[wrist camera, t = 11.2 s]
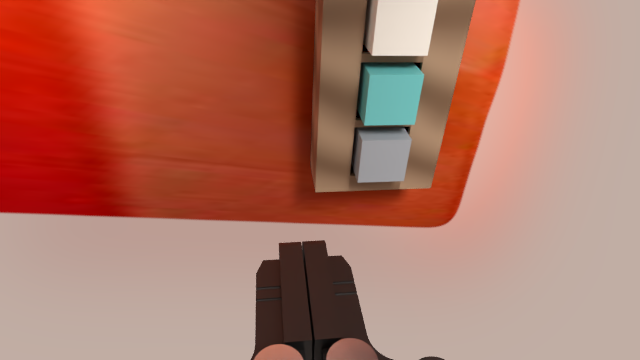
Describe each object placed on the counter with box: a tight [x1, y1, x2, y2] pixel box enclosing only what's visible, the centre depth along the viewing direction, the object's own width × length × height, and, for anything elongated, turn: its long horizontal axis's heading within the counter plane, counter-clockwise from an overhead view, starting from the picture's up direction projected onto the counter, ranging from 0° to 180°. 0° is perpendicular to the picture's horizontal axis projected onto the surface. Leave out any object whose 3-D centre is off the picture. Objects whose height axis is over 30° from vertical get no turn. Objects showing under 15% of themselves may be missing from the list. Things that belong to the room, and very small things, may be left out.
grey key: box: [351, 127, 412, 183], centre depth 39 cm, size 4×4×4 cm
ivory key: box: [363, 0, 438, 56], centre depth 32 cm, size 4×4×4 cm
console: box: [310, 0, 476, 192], centre depth 37 cm, size 21×12×5 cm, turn 178°
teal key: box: [357, 62, 424, 126], centre depth 36 cm, size 4×4×4 cm
